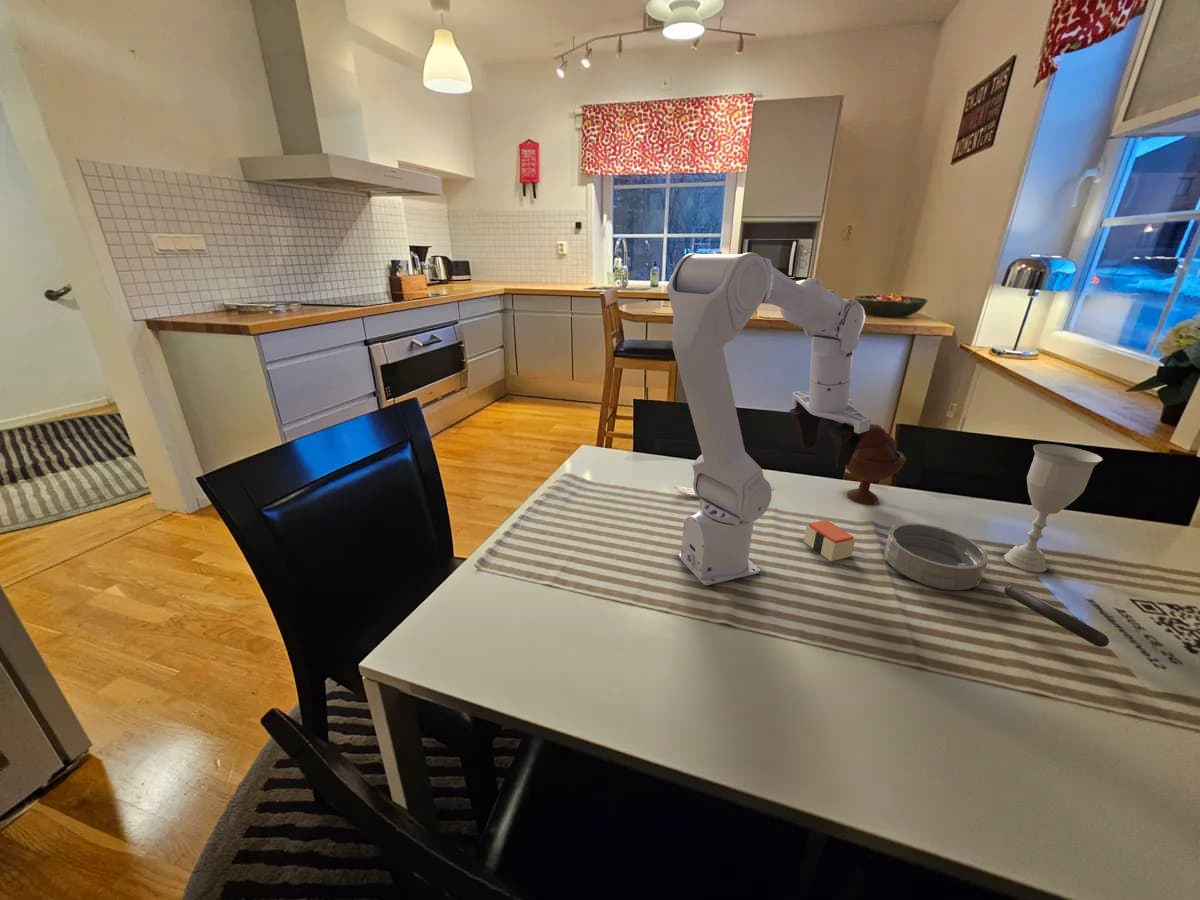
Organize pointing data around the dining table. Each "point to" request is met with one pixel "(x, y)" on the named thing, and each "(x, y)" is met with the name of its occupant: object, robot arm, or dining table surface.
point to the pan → (935, 556)
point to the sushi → (829, 540)
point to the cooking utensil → (686, 490)
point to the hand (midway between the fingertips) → (824, 455)
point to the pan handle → (1057, 616)
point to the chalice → (1051, 494)
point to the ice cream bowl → (873, 463)
